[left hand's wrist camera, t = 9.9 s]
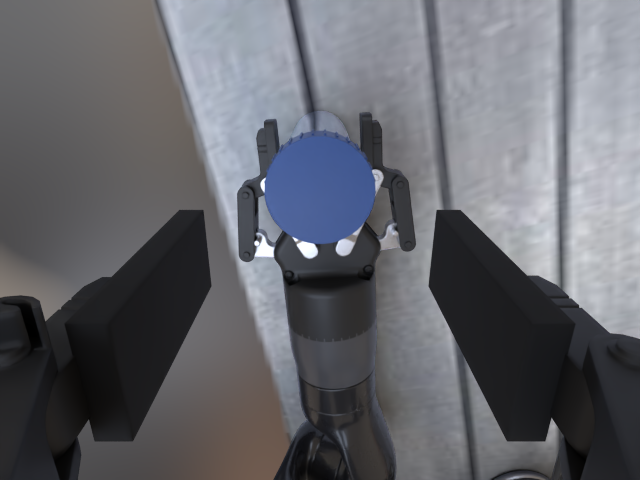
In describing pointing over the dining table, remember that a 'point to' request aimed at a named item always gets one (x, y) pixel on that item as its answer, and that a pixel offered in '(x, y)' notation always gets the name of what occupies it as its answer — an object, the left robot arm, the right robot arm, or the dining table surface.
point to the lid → (319, 187)
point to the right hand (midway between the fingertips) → (317, 117)
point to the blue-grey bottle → (320, 123)
